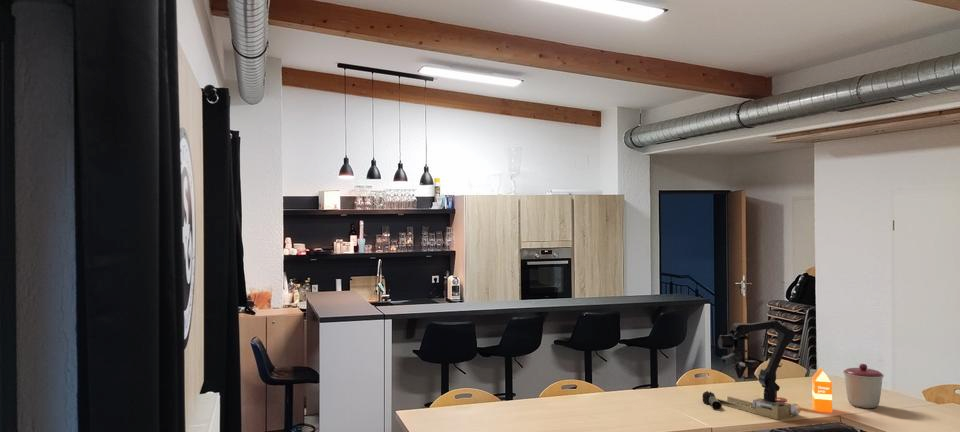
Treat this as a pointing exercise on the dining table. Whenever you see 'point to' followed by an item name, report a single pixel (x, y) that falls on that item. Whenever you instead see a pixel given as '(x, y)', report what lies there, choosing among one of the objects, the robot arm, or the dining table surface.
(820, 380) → the orange juice
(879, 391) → the canister
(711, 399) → the grey brown wooden log
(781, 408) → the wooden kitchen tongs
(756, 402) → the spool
